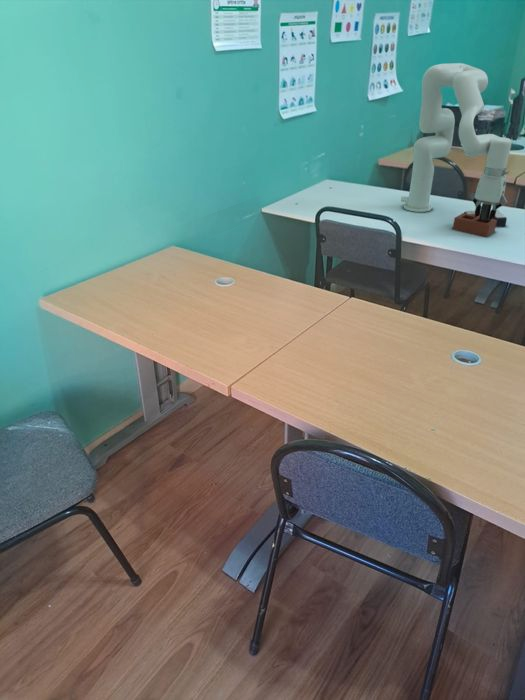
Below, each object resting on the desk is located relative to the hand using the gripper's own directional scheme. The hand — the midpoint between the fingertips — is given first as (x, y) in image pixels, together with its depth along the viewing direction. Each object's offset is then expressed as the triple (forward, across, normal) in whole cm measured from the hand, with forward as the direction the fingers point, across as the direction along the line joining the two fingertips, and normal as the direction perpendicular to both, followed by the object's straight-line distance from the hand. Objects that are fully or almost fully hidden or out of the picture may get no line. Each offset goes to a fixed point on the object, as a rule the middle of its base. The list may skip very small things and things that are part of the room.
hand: (484, 217), depth 210 cm
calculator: (+7, +4, -13) cm, 15 cm away
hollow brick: (+6, +3, 0) cm, 7 cm away
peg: (+6, 0, 0) cm, 6 cm away
